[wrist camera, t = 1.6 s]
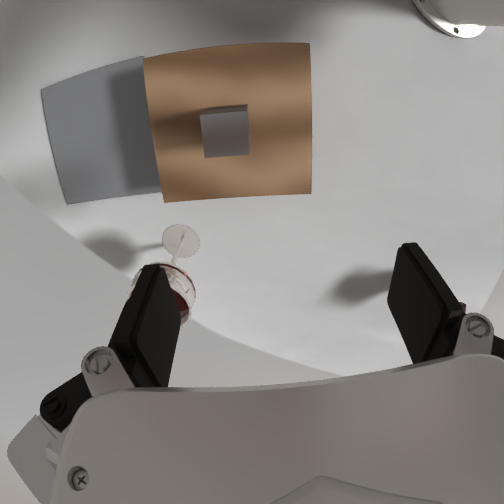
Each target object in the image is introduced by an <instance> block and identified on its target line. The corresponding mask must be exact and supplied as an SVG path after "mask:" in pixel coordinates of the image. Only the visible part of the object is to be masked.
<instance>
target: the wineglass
mask: <svg viewBox="0 0 504 504" xmlns="http://www.w3.org/2000/svg"><path fill="white" fill-rule="evenodd" d="M162 240H163V245H164V247H165V249H166V250H167V251H168V252H169V253H170V254H172V255H173V258H172V260H171V262H170V263H169V262H160V261H159V262H154V263H150V264H148V265H152V264H159V265H160V267H163V268H164V269H165V271H166V274H167V277H168V280H169V283H170V286H171V289H172V292H173V295H174V298H175V301H176V304H177V307H178V310H179V313H180V316H181V326H180V327H183V326H184V325H185V324H186V323H187V322H188V321H189V319H190V317H191V309H192V307H193V304H194V302H195V287H194V285H193V282H192V280H191V278H190V276H189V275H188V274H187V273H186V272H185V271H184V270H183V269H182V268H180V267H179V266H177V265H176V262H177V258H178V257H181V258H186V257H190V256H192V255H194V254H195V253H196V252H197V251H198V249H199V247H200V240H199V237H198V235H197V234H196V232H195V231H194V230H192V229H191V228H190V227H187V226H185V225H174V226H171V227H169V228H167V229H166V231H165V232H164V234H163V237H162ZM142 269H143V268H142ZM142 269H140V270H139V272H138V273H137V274H136V275H135V277H134V279H133V282H132V287H131V289H130V290H129V291H128V294H127V299H126V300H128V299H129V298H130V296H131V294H132V291H133V289H134V287H135V285H136V282H137V280H138V278H139V276H140V273H141V271H142Z"/></svg>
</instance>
